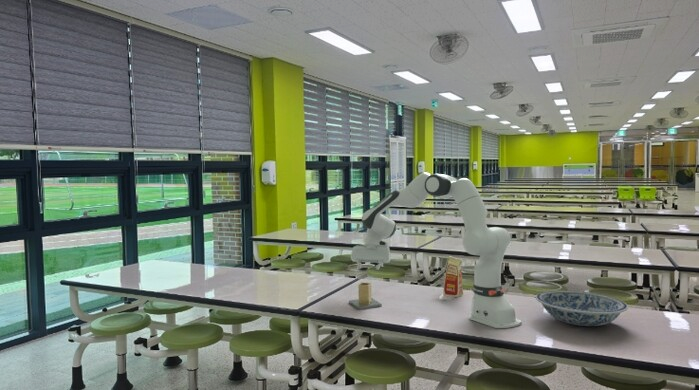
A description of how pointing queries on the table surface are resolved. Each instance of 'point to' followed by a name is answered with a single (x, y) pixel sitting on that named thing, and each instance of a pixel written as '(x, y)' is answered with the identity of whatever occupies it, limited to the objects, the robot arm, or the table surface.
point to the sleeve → (364, 293)
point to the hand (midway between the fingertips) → (368, 268)
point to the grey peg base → (365, 306)
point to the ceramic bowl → (581, 307)
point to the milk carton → (453, 278)
